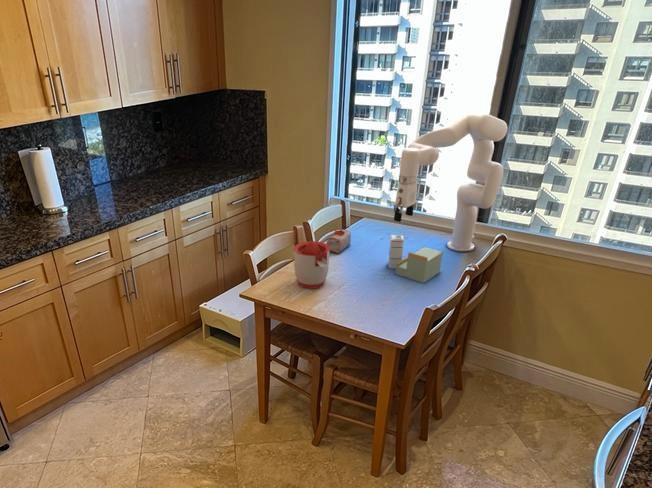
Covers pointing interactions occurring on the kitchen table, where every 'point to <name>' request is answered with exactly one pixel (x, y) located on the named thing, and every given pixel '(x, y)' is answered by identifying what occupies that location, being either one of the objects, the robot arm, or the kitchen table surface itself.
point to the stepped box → (420, 265)
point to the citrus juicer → (311, 263)
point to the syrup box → (395, 250)
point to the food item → (339, 241)
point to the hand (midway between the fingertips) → (403, 218)
